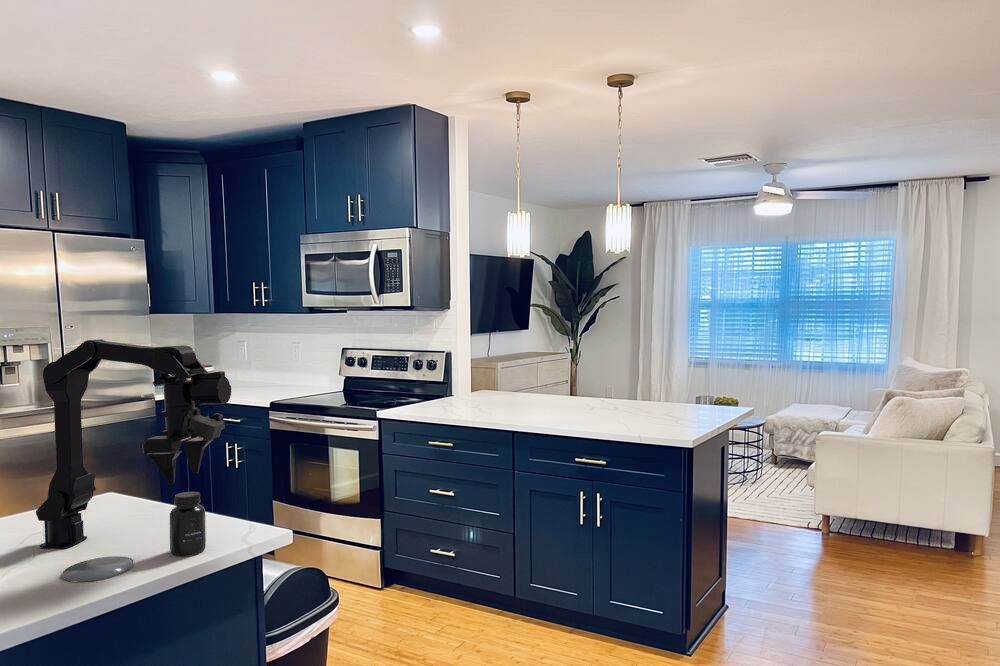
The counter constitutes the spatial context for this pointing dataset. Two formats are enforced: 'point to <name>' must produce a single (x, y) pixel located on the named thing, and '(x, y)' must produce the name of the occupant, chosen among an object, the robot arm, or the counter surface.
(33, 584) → the counter surface
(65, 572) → the slate coaster
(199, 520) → the supplement bottle
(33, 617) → the counter surface
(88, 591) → the counter surface
